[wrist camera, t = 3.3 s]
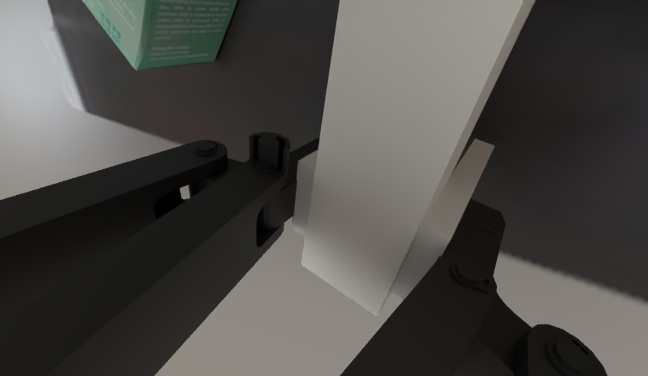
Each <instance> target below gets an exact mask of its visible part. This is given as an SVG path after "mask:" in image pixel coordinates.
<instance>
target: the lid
mask: <svg viewBox="0 0 648 376" xmlns="http://www.w3.org/2000/svg"><path fill="white" fill-rule="evenodd" d="M534 2H535V0H340V3H339V10H338V17H337V24H336V30H335V37H334V44H333V51H332V58H331V65H330V71H329V78H328V85H327V92H326V99H325V106H324V113H323V119H322V126H321V133H320V140H319V147H318V154H317V160H316V167H315V174H314V181H313V188H312V195H311V202H310V208H309V215H308V222H307V229H306V236H305V243H304V249H303V256H302V263H301V265H302V266H304V267H305V268H307V269H308V270H310V271H311V272H313V273H314V274H316V275H317V276H318V277H320V278H322V279H323V280H324V281H326V282H327V283H329V284H330V285H332V286H333V287H335V288H336V289H337V290H339V291H340V292H342V293H344V294H345V295H346V296H348V297H349V298H351V299H352V300H354V301H355V302H357V303H358V304H359V305H361V306H362V307H364V308H365V309H367V310H368V311H370V312H371V313H373V314H374V315H376V316H378V314H379V313H380V311H381V309H382V308H383V306H384V304H385V303H386V301H387V299H388V297H389V296H390V294H391V291H390V289H391V287H392V285H393V283H394V281H395V279H396V276H397V274H398V272H399V270H400V268H401V266H402V264H403V261H404V259H405V257H406V255H407V253H408V251H409V248H410V246H411V244H412V242H413V240H414V238H415V236H416V233H417V231H418V229H419V227H420V225H421V223H422V221H423V220H424V218H425V217H426V215H427V214H428V212H429V210H430V209H431V207H432V206H433V204H434V203H435V201H436V200H437V198H438V196H439V195H440V193H441V192H442V190H443V189H444V187H445V186H446V184H447V182H448V180H449V178H450V176H451V174H452V172H453V170H454V168H455V166H456V164H457V162H458V160H459V158H460V155H461V153H462V151H463V149H464V147H465V145H466V143H467V141H468V139H469V137H470V135H471V133H472V131H473V129H474V126H475V124H476V122H477V120H478V118H479V116H480V114H481V112H482V110H483V108H484V106H485V104H486V102H487V100H488V97H489V95H490V93H491V91H492V89H493V87H494V85H495V83H496V81H497V79H498V77H499V75H500V73H501V71H502V69H503V66H504V64H505V62H506V60H507V58H508V56H509V54H510V52H511V50H512V48H513V46H514V44H515V42H516V40H517V37H518V35H519V33H520V31H521V29H522V27H523V25H524V23H525V21H526V19H527V17H528V15H529V13H530V11H531V8H532V6H533V4H534Z"/></svg>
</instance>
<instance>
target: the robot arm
mask: <svg viewBox="0 0 648 376" xmlns="http://www.w3.org/2000/svg"><path fill="white" fill-rule="evenodd" d="M319 140H320V138H318V139H315V140H313V141H311V142H309V143H308V144H306V145H304V146H302V147H301V148H298V149H296V150H294V151H292V152H290V141H289V140H288V139H287V138H286V137H284V136H282V135H279V134H275V133H268V132H262V133H255V134H252V135H250V136H249V148H250V159H249V160H248V161H246V162H245V163H244V162H240V161H236V160H232V159H229V158H227V147H226V146H225V145H224V144H222V143H219V142H216V141H212V140H202V141H196V142H192V143H189V144H186V145H182V146H179V147H176V148H172V149H169V150H166V151H162V152H159V153H156V154H153V155H149V156H146V157H142V158H139V159H136V160H133V161H129V162H126V163H122V164H119V165H116V166H113V167H109V168H106V169H102V170H99V171H96V172H92V173H89V174H86V175H82V176H79V177H76V178H72V179H69V180H66V181H63V182H59V183H56V184H53V185H49V186H46V187H43V188H39V189H36V190H32V191H29V192H26V193H23V194H19V195H16V196H12V197H9V198H6V199H3V200H0V376H154V375H155V374H156V373H157V372H158V371H159V370H160V369H161V368H162V366H163V365H164V364H165V363H166V362H167V361H168V360H169V359H170V358H171V357H172V355H173V354H174V353H175V352H176V351H177V350H178V349H179V348H180V347H181V346H182V344H183V343H184V342H185V341H186V340H187V339H188V338H189V337H190V335H191V334H192V333H193V332H194V331H195V330H196V329H197V328H198V327H199V325H200V324H201V323H202V322H203V321H204V320H205V319H206V318H207V317H208V316H209V314H210V313H211V312H212V311H213V310H214V309H215V308H216V307H217V306H218V304H219V303H220V302H221V301H222V300H223V299H224V298H225V297H226V295H227V294H228V293H229V292H230V291H231V290H232V289H233V288H234V287H235V286H236V284H237V283H238V282H239V281H240V280H241V279H242V278H243V276H245V274H246V273H247V272H248V271H249V270H250V269H251V268H252V267H253V266H254V264H255V263H256V262H257V261H258V260H259V259H260V258H261V257H262V256H263V254H264V253H265V252H266V251H267V250H268V249H269V248H270V247H271V246H272V244H273V243H274V242H275V241H276V240H277V239H278V238H279V237H280V236H281V234H282V232H283V230H284V222H286V221H287V220H288V219H289V218H291V217H292V216H293V217H292V227H291V228H292V229H293V230H295V231H296V232H298V233H300V234H301V235H303V236H304V237H305V236H306V229H307V222H308V215H309V208H310V202H311V195H312V188H313V181H314V174H315V167H316V160H317V154H318V147H319ZM494 147H495V146H494V145H491V144H489V143H486V142H483V141H480V140H477V139H475V140H474V141H473V143H472V144H471V146H470V147H469V149H468V150H467V152H466V153H465V155H464V156H463V158H462V159H461V161H460V162H459V164H458V166H457V167H456V169H455V170H454V172H453V173H452V175H451V176H450V178H449V180H448V182H447V184H446V186H445V187H444V189H443V190H442V192H441V193H440V195H439V196H438V198H437V200H436V201H435V203H434V204H433V206H432V207H431V209H430V210H429V212H428V214H427V215H426V217H425V218H424V220H423V221H422V223H421V225H420V227H419V229H418V231H417V233H416V236H415V238H414V240H413V242H412V244H411V246H410V248H409V251H408V253H407V255H406V257H405V259H404V261H403V264H402V266H401V268H400V270H399V272H398V274H397V276H396V279H395V281H394V283H393V285H392V287H391V289H390V291H391V292H393V293H395V294H396V295H398V296H400V297H401V298H402V299H404V300H403V302H402V303H401V304H400V305H399V306H398V307H397V309H396V310H395V311H394V312H393V313H392V315H391V316H390V317H389V318H388V319H387V321H386V322H385V323H384V324H383V325H382V326H381V328H380V329H379V330H378V331H377V332H376V334H375V335H374V336H373V338H371V340H370V341H369V342H368V343H367V344H366V345H365V347H364V348H363V349H362V350H361V351H360V353H359V354H358V355H357V356H356V358H355V359H354V360H353V361H352V362H351V363H350V365H349V366H348V367H347V368H346V369H345V370H344V372H343V373H342V374H341V375H340V376H607V374H606V371H605V369H604V367H603V365H602V364H601V363H600V361H599V360H598V359H597V357H596V356H595V355H594V354H593V352H592V351H591V350H590V349H589V348H588V347H587V346H585V345H584V344H583V343H582V342H581V341H580V340H579V339H577V338H576V337H574V336H573V335H571V334H569V333H568V332H566V331H565V330H563V329H560V328H557V327H554V326H552V325H549V324H538V325H536V326H535V327H533V328H532V327H530V326H529V325H528V324H527V323H526V322H524V321H523V320H522V319H521V318H520V317H518V316H517V315H516V314H515V313H514V312H513V311H512V310H511V309H510V308H509V307H507V306H506V305H505V303H504V302H503V301H502V299H501V298H500V297H499V295H498V294H497V292H496V290H497V285H496V282H495V280H494V277H493V274H494V269H495V266H496V261H497V257H498V253H499V249H500V245H501V244H500V243H501V241H502V237H503V236H502V235H503V233H504V229H505V225H506V223H505V221H504V219H503V216H502V214H501V212H499V211H497V210H495V209H492V208H490V207H488V206H486V205H483V204H481V203H479V202H477V201H474V200H472V199H470V198H471V196H472V194H473V191H474V189H475V187H476V185H477V183H478V181H479V179H480V176H481V174H482V172H483V170H484V168H485V166H486V164H487V162H488V159H489V157H490V155H491V153H492V151H493V149H494ZM186 185H188V187H189V192H190V198H189V199H185V200H184V199H182V198H181V193H180V188H181V187H183V186H186Z"/></svg>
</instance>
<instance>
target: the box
mask: <svg viewBox="0 0 648 376" xmlns="http://www.w3.org/2000/svg"><path fill="white" fill-rule="evenodd" d="M82 1H83V2H84V3H85V5H86V6H87V7H88V9H89V10H90V11H91V13H92V14H93V15H94V17H95V18H96V19H97V21H98V22H99V23H100V24H101V26H102V27H103V28H104V30H105V31H106V32H107V34H108V35H109V36H110V38H111V39H112V40H113V42H114V43H115V44H116V46H117V47H118V48H119V50H120V51H121V52H122V54H123V55H124V56H125V58H126V59H127V60H128V62H129V63H130V64H131V66H132V67H133V68H134V69H136V70H143V69H151V68H160V67H170V66H179V65H188V64H197V63H206V62H213V61H215V59H216V56H217V54H218V51H219V48H220V46H221V43H222V41H223V38H224V36H225V33H226V30H227V28H228V25H229V22H230V20H231V17H232V14H233V11H234V9H235V6H236V3H237V0H82Z"/></svg>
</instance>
